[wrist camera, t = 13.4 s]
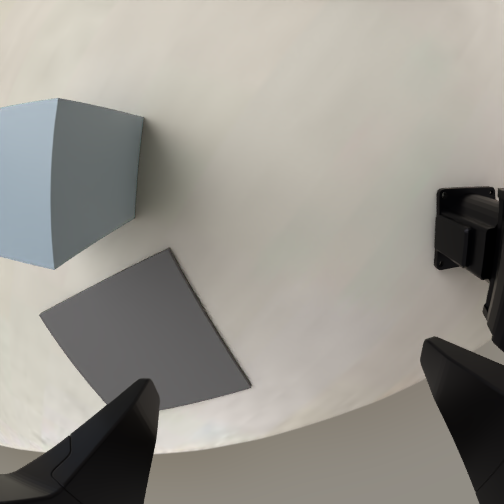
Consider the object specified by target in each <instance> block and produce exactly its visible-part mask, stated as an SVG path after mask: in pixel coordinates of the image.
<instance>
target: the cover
mask: <svg viewBox="0 0 504 504" xmlns="http://www.w3.org/2000/svg"><path fill="white" fill-rule="evenodd" d="M143 120H144V117H141V116H137V115H133V114H129V113H125V112H121V111H117V110H113V109H108V108H104V107H100V106H95V105H90V104H86V103H81V102H76V101H71V100H65V99H60V98H56V99H48V100H41V101H34V102H28V103H22V104H17V105H12V106H7V107H2V108H0V257H4V258H8V259H11V260H15V261H19V262H23V263H28V264H32V265H36V266H40V267H44V268H49V269H53V270H55V269H56V268H58V267H59V266H61V265H62V264H63V263H65V262H66V261H68V260H69V259H71V258H72V257H74V256H75V255H77V254H78V253H80V252H81V251H83V250H84V249H86V248H87V247H89V246H91V245H92V244H94V243H95V242H97V241H98V240H100V239H102V238H103V237H105V236H106V235H108V234H109V233H111V232H113V231H114V230H116V229H118V228H119V227H121V226H123V225H124V224H126V223H127V222H129V221H131V220H132V219H134V218H135V204H136V188H137V175H138V163H139V153H140V144H141V135H142V128H143Z"/></svg>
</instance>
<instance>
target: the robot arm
mask: <svg viewBox="0 0 504 504" xmlns="http://www.w3.org/2000/svg"><path fill="white" fill-rule="evenodd" d="M443 192H444V197H443V198H442V193H443ZM490 192H491V193H490ZM498 197H499V201H498V200H495V190H494V188H493V187H489V186H485V187H456V188H441V189H439V190H438V191H437V216H436V226H435V258H434V266H435V267H436V268H437V269H438V270H443V269H449V268H454V267H459V266H461V267H462V268H466V269H467V270H468V271H470V272H471V273H473V274H474V275H476V276H477V277H478V278H480V279H481V280H486V281H487V282H488V283H490V285H489V290H488V295H487V299H486V304H484V307H483V314H484V316H485V318H486V320H487V325H488V327H489V329H490V331H491V333H492V341H493V343H494V344H495V345H496V346H498V348H500V349H501V350H502V351H503V352H504V188H498ZM440 262H441V264H440V265H439V263H440ZM420 362H421V366H422V368H423V371H424V373H425V376H426V379H427V381H428V384H429V387H430V389H431V392H432V395H433V397H434V399H435V401H436V404H437V406H438V408H439V410H440V412H441V414H442V416H443V418H444V420H445V422H446V425H447V427H448V429H449V431H450V433H451V435H452V437H453V439H454V442H455V444H456V446H457V449H458V450H459V453H460V455H461V458H462V460H463V462H464V465H465V467H466V469H467V472H468V474H469V477H470V480H471V482H472V485H473V487H474V490H475V491H476V496H477V498H478V501H479V504H504V365H502V364H499V363H497V362H494V361H492V360H490V359H487V358H485V357H483V356H480V355H478V354H476V353H473V352H471V351H469V350H466V349H464V348H462V347H459V346H457V345H455V344H452V343H450V342H448V341H445V340H443V339H441V338H438V337H431V338H427V339H426V340H425V341H424V343H423V348H422V353H421V358H420ZM159 408H160V397H159V394H158V392H157V390H156V387H155V385H154V383H153V381H152V380H151V379H150V378H140V379H138V380H137V381H135V382H134V383H133V384H132V385H131V386H129V387H128V388H127V389H126V390H124V391H123V392H122V393H121V394H120V395H118V396H117V397H116V398H115V399H114V400H112V401H111V402H110V403H109V404H107V405H106V406H105V407H104V408H103V409H101V410H100V411H99V412H98V413H96V414H95V415H94V416H93V417H91V418H90V419H89V420H88V421H86V422H85V423H84V424H83V425H81V426H80V427H79V428H78V429H76V430H75V431H74V432H73V433H71V435H70V436H68V437H66V438H65V439H64V440H63V441H61V442H60V443H59V444H57V445H56V446H55V447H53V448H52V449H50V450H49V451H47V452H46V453H44V454H43V455H41V456H40V457H38V458H37V459H35V460H33V461H32V462H30V463H29V464H27V465H26V466H24V467H22V468H20V469H19V470H17V471H15V472H12V473H9V474H0V504H144V498H145V493H146V487H147V483H148V477H149V472H150V468H151V463H152V458H153V453H154V448H155V444H156V438H157V428H158V417H159Z"/></svg>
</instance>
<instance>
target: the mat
mask: <svg viewBox="0 0 504 504" xmlns="http://www.w3.org/2000/svg"><path fill="white" fill-rule="evenodd" d="M39 316H40V317H41V319H42V321H43V322H44V324H45V325H46V327H47V328H48V330H49V331H50V333H51V334H52V336H53V337H54V339H55V340H56V341H57V343H58V344H59V346H60V347H61V348H62V350H63V351H64V353H65V354H66V355H67V357H68V358H69V359H70V361H71V362H72V363H73V365H74V366H75V367H76V368H77V370H78V371H79V372H80V374H81V375H82V376H83V377H84V378H85V380H86V381H87V382H88V383H89V385H90V386H91V387H92V388H93V389H94V390H95V392H96V393H97V394H98V395H99V396H100V397H101V398H102V400H103V401H104V402H105V403H106V404H109V403H110V402H111V401H112V400H114V399H115V398H116V397H117V396H118V395H120V394H121V393H122V392H123V391H124V390H126V389H127V388H128V387H129V386H131V385H132V384H133V383H134V382H135V381H137V380H138V379H140V378H150V379H151V380H152V381H153V383H154V385H155V387H156V390H157V392H158V394H159V397H160V408H159V410H164V409H169V408H174V407H178V406H183V405H188V404H192V403H196V402H200V401H204V400H209V399H212V398H216V397H220V396H224V395H228V394H231V393H235V392H238V391H242V390H245V389H249V388H251V384H250V383H249V381H248V380H247V378H246V377H245V375H244V373H243V372H242V370H241V369H240V367H239V366H238V364H237V363H236V361H235V359H234V358H233V356H232V355H231V353H230V352H229V350H228V348H227V347H226V345H225V344H224V342H223V340H222V339H221V337H220V336H219V334H218V332H217V331H216V329H215V327H214V326H213V324H212V322H211V321H210V319H209V317H208V316H207V314H206V312H205V311H204V309H203V307H202V306H201V304H200V302H199V300H198V299H197V297H196V295H195V294H194V292H193V290H192V288H191V287H190V285H189V283H188V281H187V280H186V278H185V276H184V274H183V272H182V271H181V269H180V267H179V265H178V263H177V262H176V260H175V258H174V256H173V254H172V252H171V251H170V249H169V248H168V249H165V250H163V251H161V252H159V253H157V254H155V255H153V256H151V257H149V258H147V259H145V260H143V261H141V262H139V263H137V264H135V265H133V266H131V267H129V268H127V269H125V270H123V271H121V272H119V273H117V274H115V275H113V276H111V277H109V278H107V279H105V280H103V281H101V282H99V283H97V284H95V285H93V286H91V287H89V288H87V289H86V290H84V291H82V292H80V293H78V294H76V295H74V296H72V297H70V298H68V299H66V300H65V301H63V302H61V303H59V304H57V305H55V306H53V307H52V308H50V309H48V310H46V311H44V312H42V313H41V314H40V315H39Z"/></svg>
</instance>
